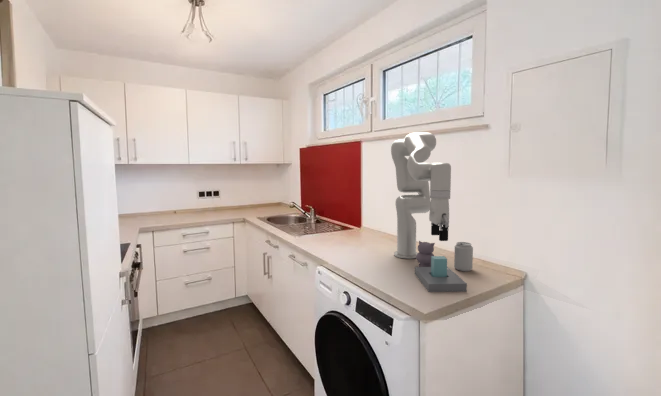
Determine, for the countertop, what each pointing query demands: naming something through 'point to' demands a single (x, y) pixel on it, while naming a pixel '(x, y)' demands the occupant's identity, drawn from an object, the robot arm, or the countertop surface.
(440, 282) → the socket
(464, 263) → the can
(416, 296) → the countertop surface
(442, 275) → the plug
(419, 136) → the robot arm
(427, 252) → the cat figurine
